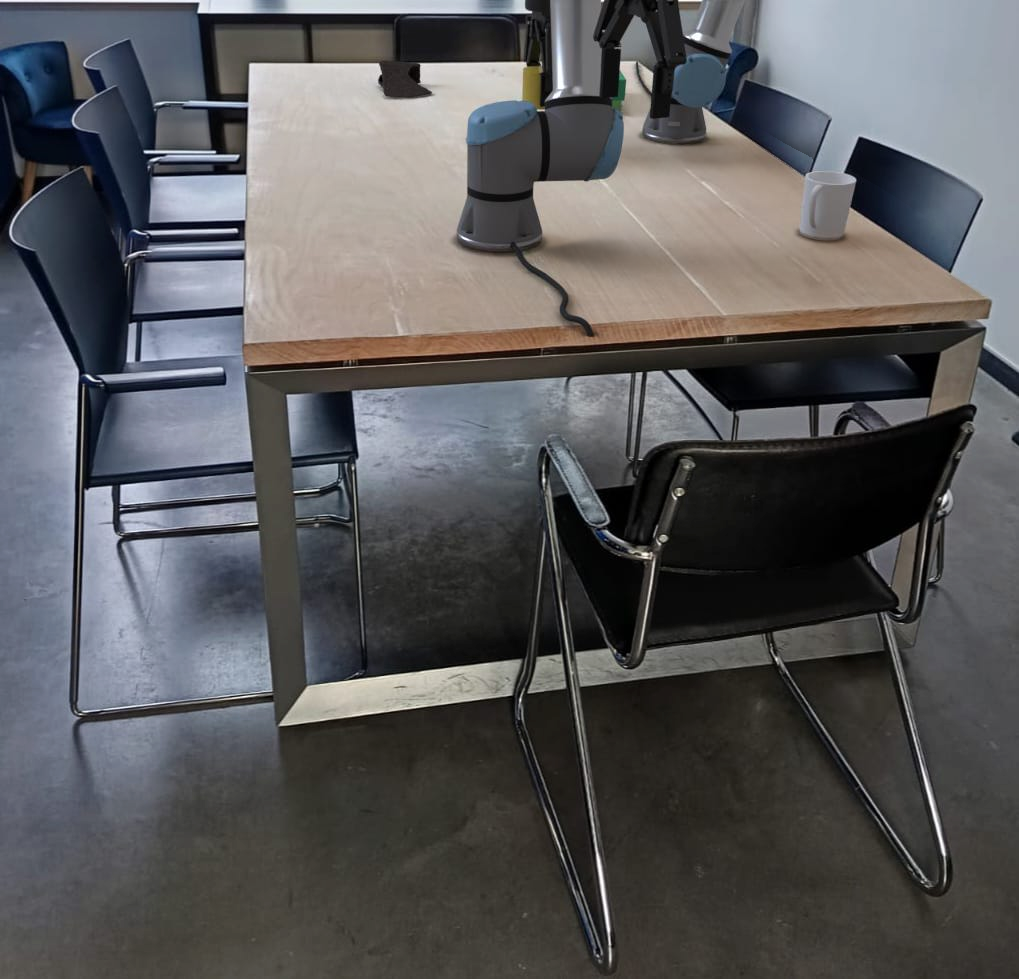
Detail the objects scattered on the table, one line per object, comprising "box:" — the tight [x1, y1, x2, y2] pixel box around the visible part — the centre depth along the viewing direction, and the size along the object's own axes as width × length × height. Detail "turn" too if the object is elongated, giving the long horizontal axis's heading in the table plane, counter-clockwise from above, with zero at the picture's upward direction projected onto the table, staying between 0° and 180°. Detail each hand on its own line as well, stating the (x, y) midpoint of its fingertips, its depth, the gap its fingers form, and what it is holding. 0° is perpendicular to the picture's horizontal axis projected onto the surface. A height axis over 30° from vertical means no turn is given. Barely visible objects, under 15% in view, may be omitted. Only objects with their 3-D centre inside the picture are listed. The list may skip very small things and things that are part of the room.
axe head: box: [377, 59, 433, 99], centre depth 299 cm, size 18×8×15 cm
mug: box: [798, 170, 857, 241], centre depth 199 cm, size 11×9×10 cm
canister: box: [521, 65, 545, 111], centre depth 242 cm, size 8×8×8 cm
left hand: (633, 107), depth 154 cm, fingers open, 13 cm apart
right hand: (539, 101), depth 243 cm, fingers closed on canister, 8 cm apart
